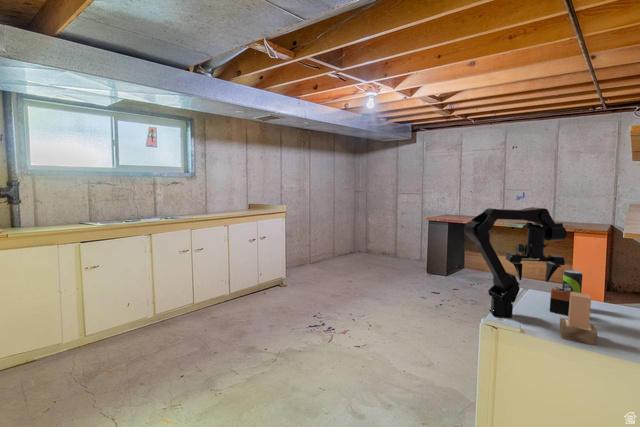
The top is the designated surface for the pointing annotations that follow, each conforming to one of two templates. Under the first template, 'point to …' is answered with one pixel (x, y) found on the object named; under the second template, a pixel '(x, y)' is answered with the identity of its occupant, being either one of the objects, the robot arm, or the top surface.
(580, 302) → the pillar block
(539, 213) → the robot arm
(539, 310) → the top surface
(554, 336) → the top surface
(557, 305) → the battery
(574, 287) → the beverage can
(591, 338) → the foundation block
